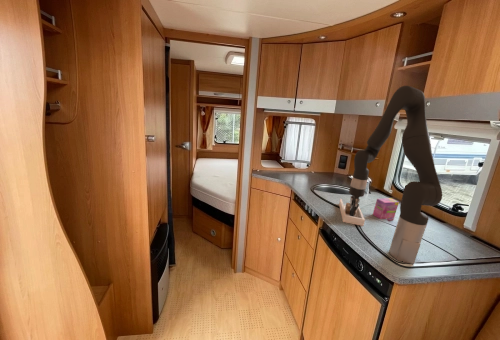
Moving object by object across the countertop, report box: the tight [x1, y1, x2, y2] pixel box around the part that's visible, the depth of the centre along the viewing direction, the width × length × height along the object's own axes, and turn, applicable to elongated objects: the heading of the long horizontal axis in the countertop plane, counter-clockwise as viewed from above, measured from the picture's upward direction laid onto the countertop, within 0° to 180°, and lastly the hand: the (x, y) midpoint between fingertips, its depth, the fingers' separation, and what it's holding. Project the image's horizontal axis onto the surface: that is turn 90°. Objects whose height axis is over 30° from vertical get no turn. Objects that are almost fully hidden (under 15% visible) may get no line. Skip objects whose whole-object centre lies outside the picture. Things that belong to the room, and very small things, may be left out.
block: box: [345, 202, 356, 215], centre depth 128 cm, size 5×5×5 cm
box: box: [372, 197, 400, 221], centre depth 127 cm, size 10×6×12 cm, turn 105°
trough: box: [338, 198, 366, 227], centre depth 127 cm, size 25×10×5 cm, turn 163°
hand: (351, 215), depth 123 cm, fingers closed
